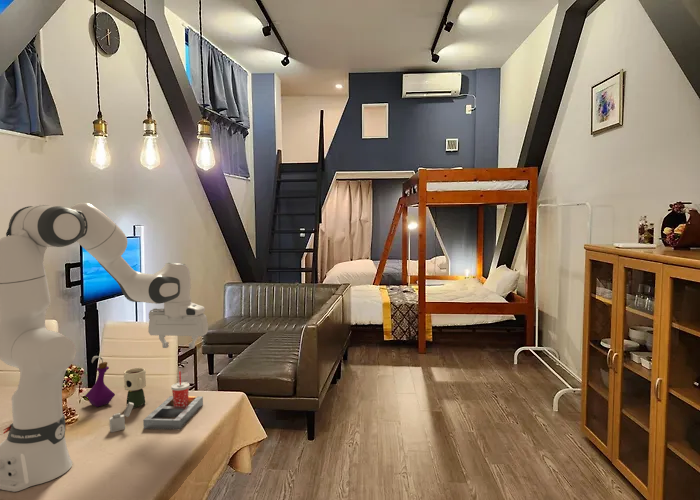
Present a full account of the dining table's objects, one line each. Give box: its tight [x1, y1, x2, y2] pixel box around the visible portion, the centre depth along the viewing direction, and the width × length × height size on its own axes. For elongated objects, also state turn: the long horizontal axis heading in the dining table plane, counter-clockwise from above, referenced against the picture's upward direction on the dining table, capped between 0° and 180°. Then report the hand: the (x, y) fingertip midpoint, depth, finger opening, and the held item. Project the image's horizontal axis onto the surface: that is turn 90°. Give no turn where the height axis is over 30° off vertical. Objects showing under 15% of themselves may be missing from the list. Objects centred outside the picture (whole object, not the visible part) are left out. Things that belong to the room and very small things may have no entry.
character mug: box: [123, 367, 147, 409], centre depth 169 cm, size 11×7×13 cm, turn 46°
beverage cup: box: [170, 370, 190, 406], centre depth 165 cm, size 6×6×14 cm
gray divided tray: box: [142, 395, 204, 430], centre depth 160 cm, size 12×20×3 cm, turn 177°
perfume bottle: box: [84, 355, 116, 408], centre depth 170 cm, size 8×8×18 cm
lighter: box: [108, 402, 134, 434], centre depth 151 cm, size 7×2×8 cm, turn 128°
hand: (178, 347), depth 164 cm, fingers open, 8 cm apart
